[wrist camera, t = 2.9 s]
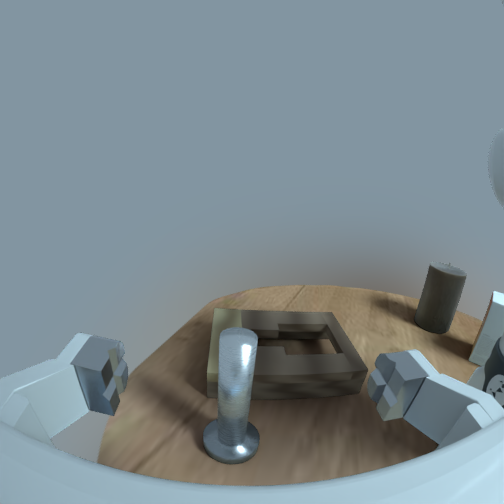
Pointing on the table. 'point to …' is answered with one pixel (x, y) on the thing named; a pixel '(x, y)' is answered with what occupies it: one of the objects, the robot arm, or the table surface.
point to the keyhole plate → (291, 366)
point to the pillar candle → (440, 297)
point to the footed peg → (234, 399)
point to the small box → (489, 330)
